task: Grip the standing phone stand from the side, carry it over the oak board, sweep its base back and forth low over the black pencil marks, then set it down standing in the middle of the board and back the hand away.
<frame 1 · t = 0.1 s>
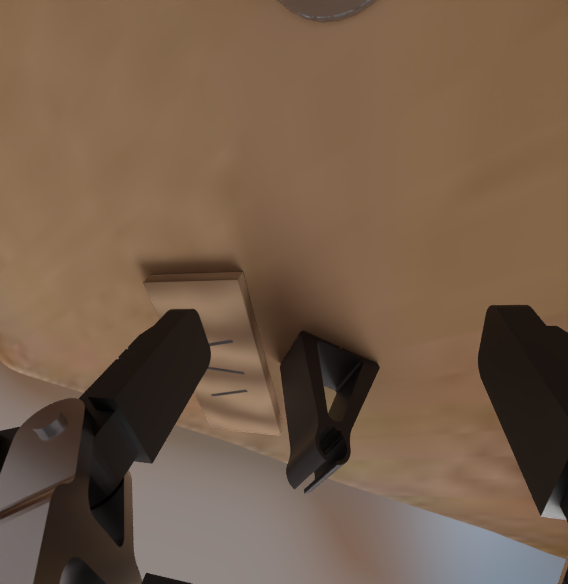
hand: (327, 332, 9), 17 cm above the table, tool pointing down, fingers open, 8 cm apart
phone stand: (328, 362, 34), on the table
oak board: (226, 360, 37), on the table
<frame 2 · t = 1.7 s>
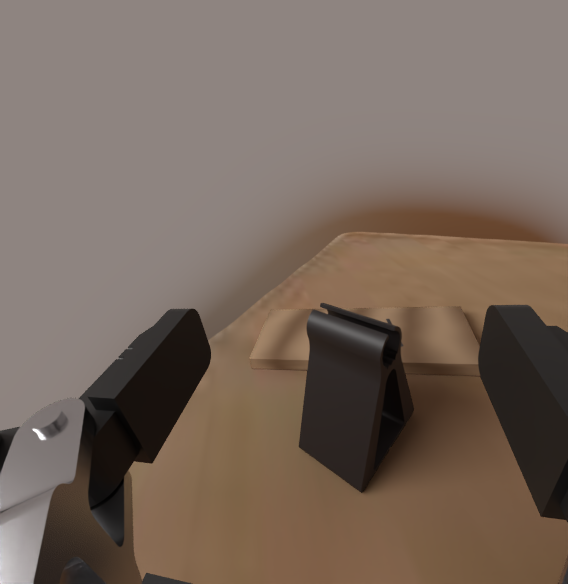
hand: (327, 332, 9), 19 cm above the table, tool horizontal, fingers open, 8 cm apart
phone stand: (358, 431, 28), on the table
oak board: (358, 341, 38), on the table
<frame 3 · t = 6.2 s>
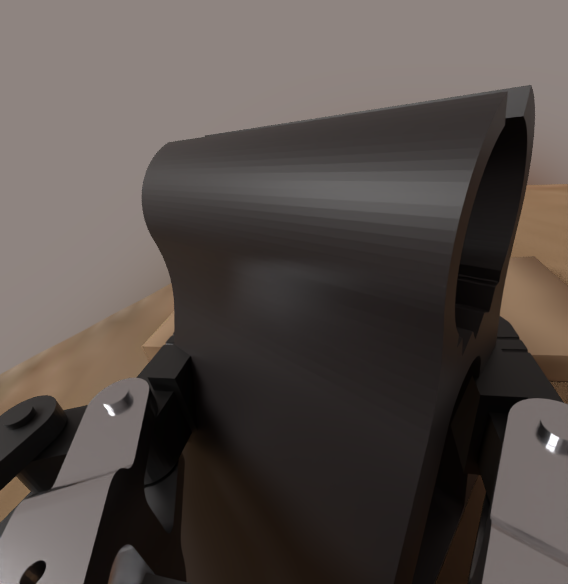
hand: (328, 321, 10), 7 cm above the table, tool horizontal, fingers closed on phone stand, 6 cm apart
phone stand: (339, 525, 11), on the table, touching gripper
oak board: (350, 318, 21), on the table
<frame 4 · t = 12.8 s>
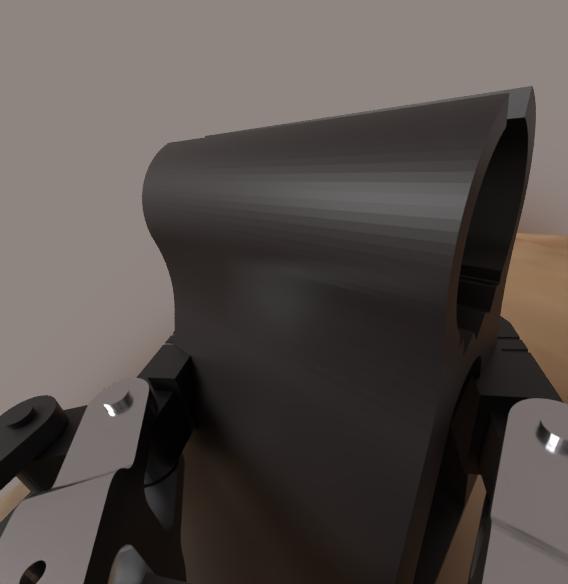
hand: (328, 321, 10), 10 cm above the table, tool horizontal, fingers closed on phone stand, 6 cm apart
phone stand: (339, 525, 11), point 3 cm above the table, touching gripper
oak board: (401, 567, 12), on the table
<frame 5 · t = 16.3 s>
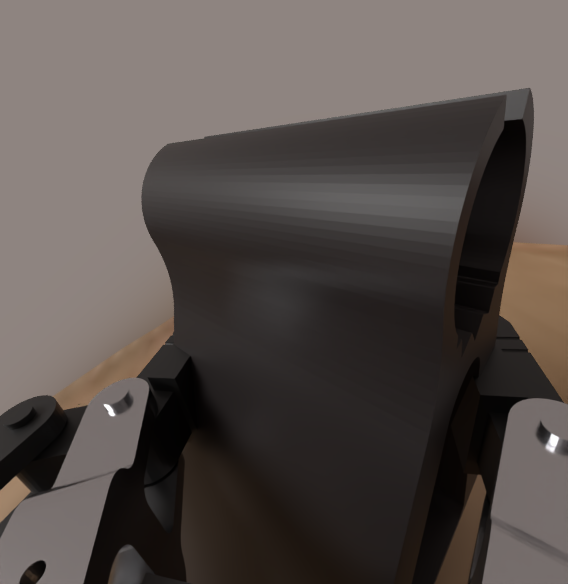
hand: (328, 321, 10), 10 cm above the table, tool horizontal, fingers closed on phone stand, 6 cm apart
phone stand: (339, 525, 11), point 3 cm above the table, touching gripper
oak board: (234, 541, 13), on the table
when the fingers open (8 cm above the table, at t = 19.4 s): phone stand stays where it is, resting on oak board.
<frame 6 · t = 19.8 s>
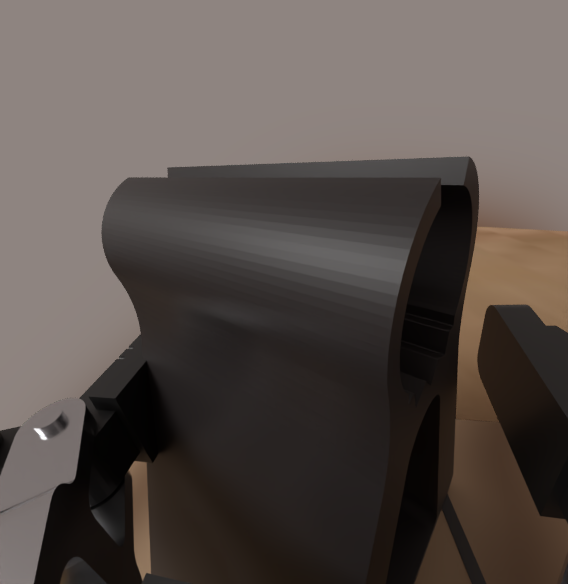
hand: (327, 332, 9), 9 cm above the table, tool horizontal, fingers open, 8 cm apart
phone stand: (318, 541, 11), point 1 cm above the table, touching gripper, oak board
oak board: (339, 550, 12), on the table
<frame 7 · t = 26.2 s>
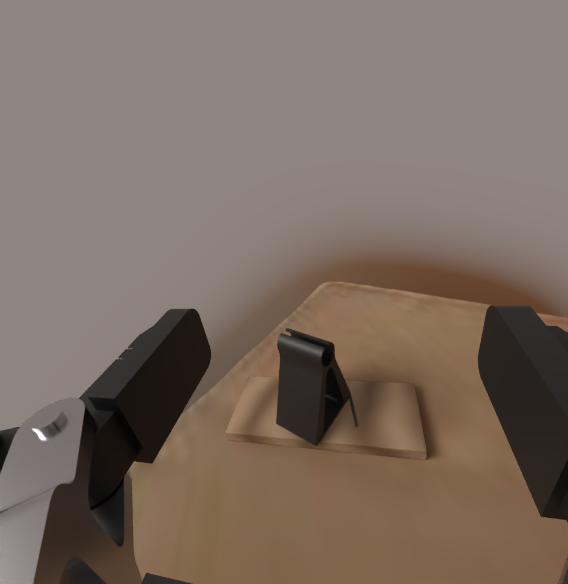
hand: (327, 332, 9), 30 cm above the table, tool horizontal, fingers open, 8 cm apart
phone stand: (315, 411, 42), point 1 cm above the table, touching oak board
oak board: (323, 415, 42), on the table
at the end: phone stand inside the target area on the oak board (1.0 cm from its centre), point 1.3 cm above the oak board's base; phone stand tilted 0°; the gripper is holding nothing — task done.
